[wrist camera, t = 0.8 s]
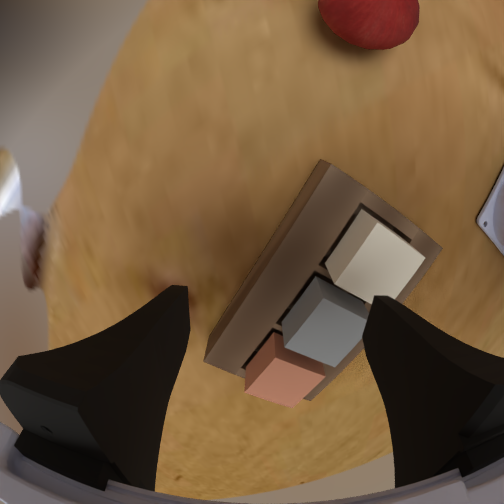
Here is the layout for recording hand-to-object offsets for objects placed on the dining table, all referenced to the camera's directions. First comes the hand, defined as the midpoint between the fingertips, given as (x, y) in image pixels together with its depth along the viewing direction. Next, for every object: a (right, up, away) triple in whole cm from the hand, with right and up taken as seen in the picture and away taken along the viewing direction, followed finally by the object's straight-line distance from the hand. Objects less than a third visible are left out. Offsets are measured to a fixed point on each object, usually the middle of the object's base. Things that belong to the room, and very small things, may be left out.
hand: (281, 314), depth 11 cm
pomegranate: (+5, +18, +4) cm, 19 cm away
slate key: (+4, -2, +8) cm, 9 cm away
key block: (+4, -1, +11) cm, 12 cm away
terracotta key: (+1, -6, +10) cm, 12 cm away
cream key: (+6, +2, +6) cm, 9 cm away
